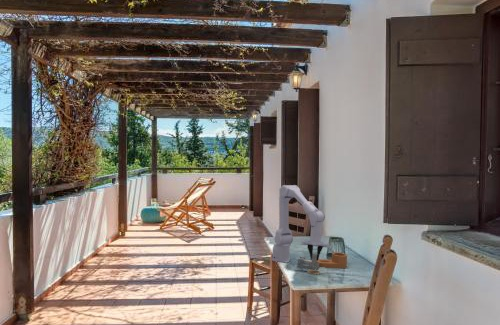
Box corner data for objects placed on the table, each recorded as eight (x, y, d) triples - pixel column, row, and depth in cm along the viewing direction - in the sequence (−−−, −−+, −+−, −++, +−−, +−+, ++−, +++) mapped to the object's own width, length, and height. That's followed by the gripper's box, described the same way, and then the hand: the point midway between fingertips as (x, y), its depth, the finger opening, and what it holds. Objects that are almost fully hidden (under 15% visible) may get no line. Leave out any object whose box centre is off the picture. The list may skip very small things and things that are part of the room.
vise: (296, 269, 214) (296, 260, 214) (299, 264, 224) (300, 255, 224) (315, 271, 211) (315, 263, 211) (317, 266, 222) (318, 258, 221)
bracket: (343, 264, 229) (344, 252, 229) (348, 268, 221) (349, 256, 221) (313, 263, 228) (313, 251, 227) (316, 267, 219) (317, 255, 219)
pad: (307, 273, 208) (307, 272, 208) (308, 270, 214) (308, 269, 214) (318, 274, 206) (318, 274, 206) (320, 271, 212) (320, 270, 212)
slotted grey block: (309, 266, 212) (310, 253, 211) (319, 268, 211) (320, 254, 210) (308, 268, 209) (309, 255, 209) (318, 269, 208) (319, 256, 207)
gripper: (301, 233, 208) (299, 259, 208) (329, 237, 203) (327, 263, 204) (303, 231, 214) (301, 256, 215) (330, 234, 210) (328, 260, 210)
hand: (314, 259), depth 210 cm, fingers closed on slotted grey block, 2 cm apart
